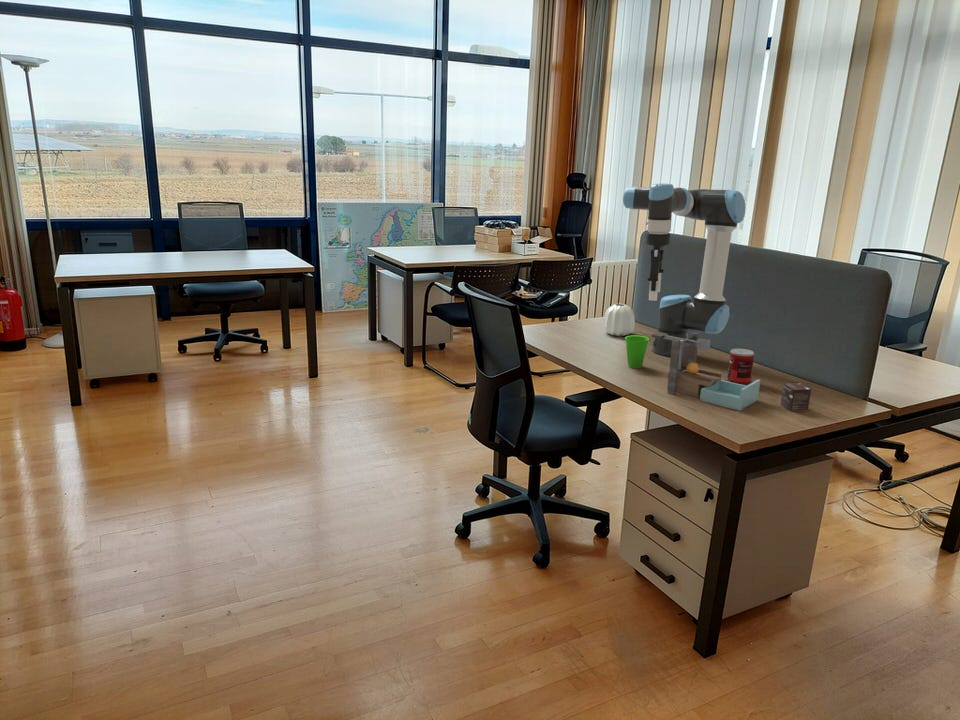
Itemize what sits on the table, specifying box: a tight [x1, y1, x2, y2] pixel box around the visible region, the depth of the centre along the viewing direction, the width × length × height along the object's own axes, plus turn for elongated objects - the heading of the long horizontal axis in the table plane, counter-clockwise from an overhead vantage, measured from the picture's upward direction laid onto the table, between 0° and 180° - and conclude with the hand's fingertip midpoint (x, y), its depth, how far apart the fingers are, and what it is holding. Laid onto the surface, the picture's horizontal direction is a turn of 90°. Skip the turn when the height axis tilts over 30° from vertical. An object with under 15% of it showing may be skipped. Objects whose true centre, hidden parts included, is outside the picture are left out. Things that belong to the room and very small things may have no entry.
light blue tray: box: [699, 379, 761, 412], centre depth 222 cm, size 14×14×7 cm
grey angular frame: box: [667, 331, 723, 398], centre depth 229 cm, size 14×15×18 cm
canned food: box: [727, 348, 755, 385], centre depth 241 cm, size 8×8×11 cm
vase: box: [602, 303, 636, 337], centre depth 304 cm, size 14×14×13 cm
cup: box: [624, 334, 650, 369], centre depth 257 cm, size 9×9×11 cm
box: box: [780, 382, 812, 412], centre depth 216 cm, size 6×6×7 cm
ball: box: [686, 362, 700, 374], centre depth 230 cm, size 4×4×4 cm
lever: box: [651, 331, 711, 372], centre depth 232 cm, size 11×19×12 cm, turn 47°
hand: (654, 296), depth 230 cm, fingers open, 13 cm apart
